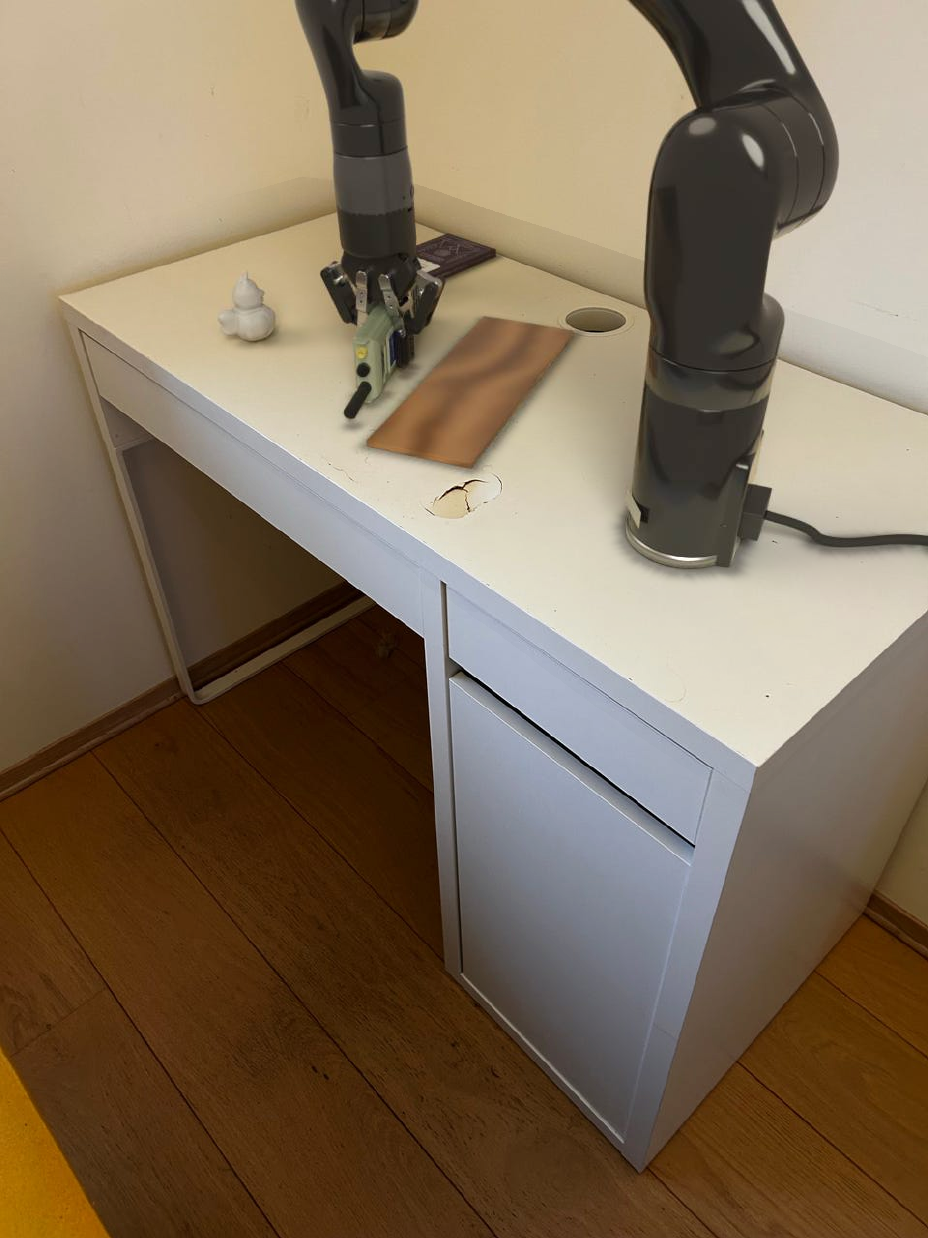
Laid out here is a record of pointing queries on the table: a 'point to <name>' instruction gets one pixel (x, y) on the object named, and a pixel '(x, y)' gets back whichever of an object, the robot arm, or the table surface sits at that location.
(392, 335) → the handheld radio
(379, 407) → the table surface
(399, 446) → the wooden board
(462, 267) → the chocolate bar
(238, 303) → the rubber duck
